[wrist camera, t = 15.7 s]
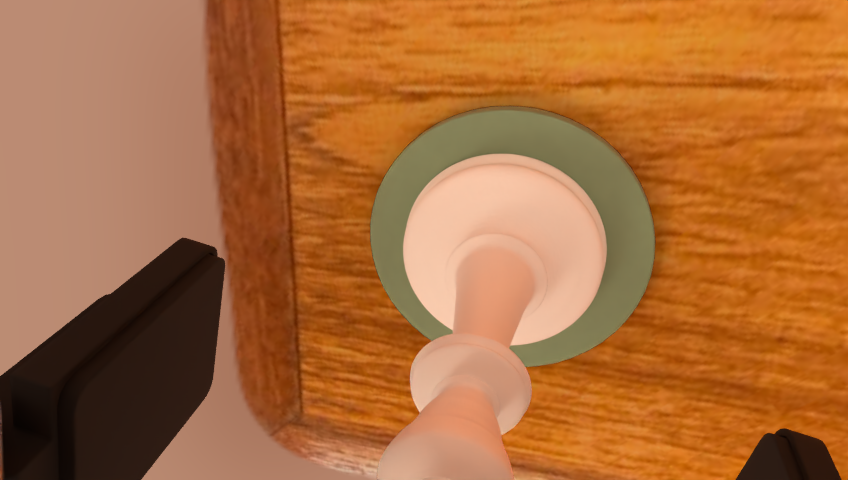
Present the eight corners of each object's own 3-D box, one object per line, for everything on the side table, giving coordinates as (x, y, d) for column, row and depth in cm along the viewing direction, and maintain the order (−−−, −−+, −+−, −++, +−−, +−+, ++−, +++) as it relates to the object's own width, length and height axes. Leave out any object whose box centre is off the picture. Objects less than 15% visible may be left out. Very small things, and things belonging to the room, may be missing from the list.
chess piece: (618, 325, 17) (655, 767, 8) (430, 341, 18) (287, 733, 10) (591, 136, 15) (602, 441, 6) (384, 170, 17) (155, 459, 8)
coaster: (352, 313, 19) (347, 320, 19) (405, 69, 16) (401, 72, 15) (595, 391, 18) (595, 400, 18) (702, 154, 15) (704, 160, 15)
